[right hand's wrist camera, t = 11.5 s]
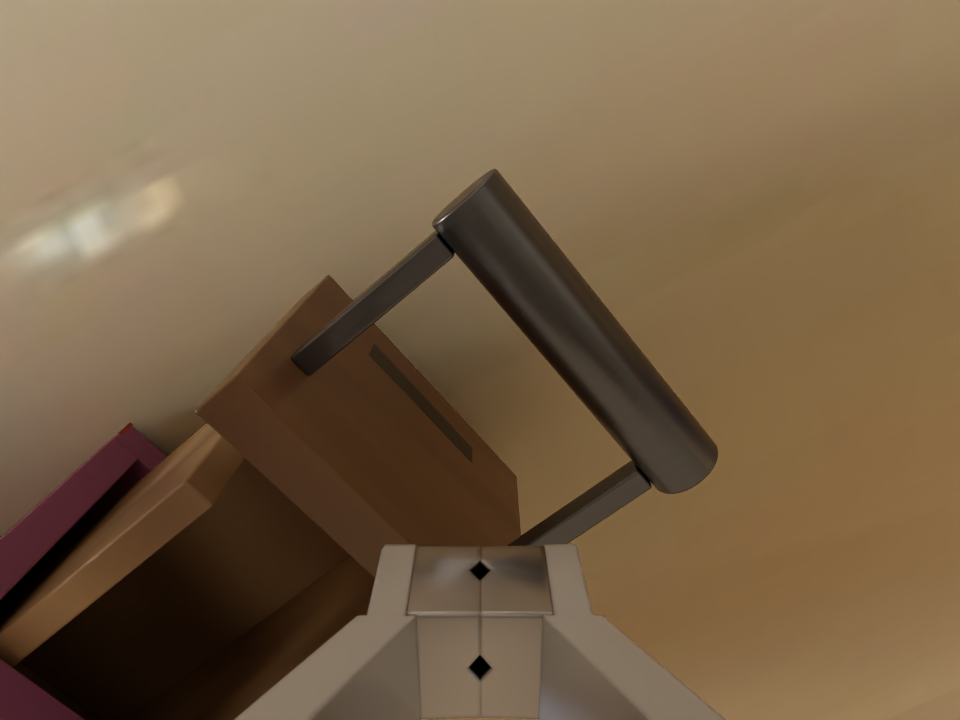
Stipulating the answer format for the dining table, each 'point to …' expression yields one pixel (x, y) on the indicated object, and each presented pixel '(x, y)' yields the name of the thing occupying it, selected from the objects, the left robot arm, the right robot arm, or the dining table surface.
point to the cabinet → (46, 528)
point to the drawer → (330, 485)
